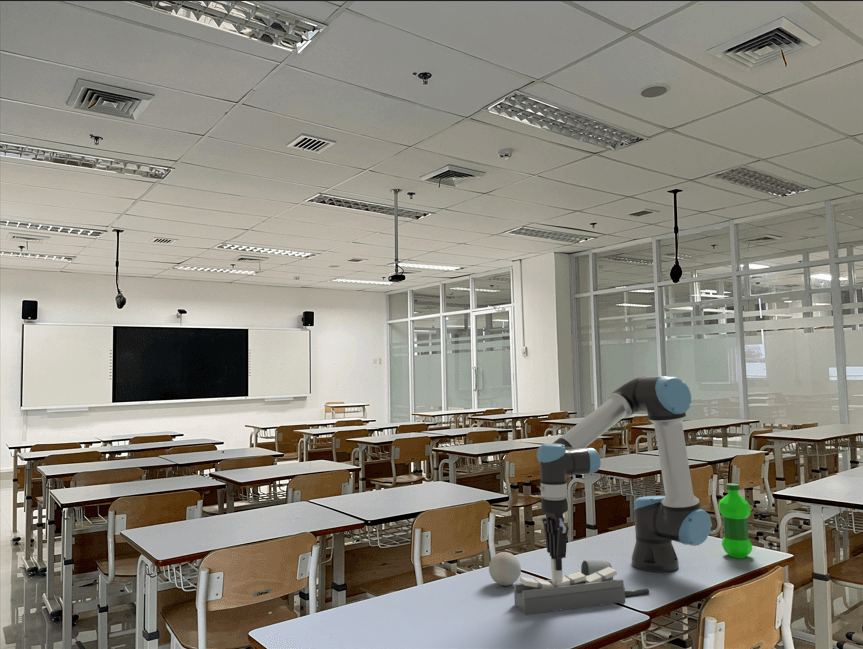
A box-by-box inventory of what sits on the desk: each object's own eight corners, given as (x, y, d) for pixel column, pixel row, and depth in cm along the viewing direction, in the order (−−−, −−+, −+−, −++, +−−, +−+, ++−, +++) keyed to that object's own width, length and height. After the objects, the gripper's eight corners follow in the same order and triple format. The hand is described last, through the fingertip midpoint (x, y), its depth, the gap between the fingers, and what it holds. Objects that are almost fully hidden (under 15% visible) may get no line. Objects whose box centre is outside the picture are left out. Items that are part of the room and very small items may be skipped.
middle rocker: (579, 575, 186) (578, 571, 186) (586, 580, 182) (585, 575, 182) (552, 583, 184) (551, 579, 184) (558, 588, 180) (557, 583, 180)
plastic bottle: (724, 550, 230) (719, 481, 232) (756, 554, 224) (751, 483, 226) (718, 557, 222) (713, 485, 224) (751, 561, 216) (746, 487, 218)
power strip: (640, 589, 193) (639, 568, 193) (655, 597, 185) (654, 576, 185) (514, 604, 183) (513, 583, 183) (525, 614, 175) (524, 592, 175)
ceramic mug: (615, 587, 195) (614, 561, 195) (590, 589, 193) (589, 563, 194) (600, 577, 205) (599, 553, 206) (577, 579, 204) (575, 555, 204)
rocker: (610, 570, 189) (608, 566, 189) (617, 575, 184) (616, 570, 184) (583, 581, 186) (582, 577, 186) (591, 586, 182) (589, 581, 182)
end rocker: (547, 586, 184) (548, 581, 184) (553, 591, 179) (554, 586, 180) (519, 581, 182) (520, 576, 182) (525, 585, 177) (526, 580, 178)
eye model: (491, 579, 206) (490, 547, 207) (522, 580, 204) (521, 548, 205) (487, 589, 196) (486, 556, 197) (520, 590, 194) (519, 557, 195)
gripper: (533, 494, 189) (536, 575, 188) (551, 502, 177) (554, 589, 175) (556, 492, 191) (559, 572, 189) (576, 500, 179) (579, 586, 177)
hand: (557, 580), depth 182 cm, fingers closed
